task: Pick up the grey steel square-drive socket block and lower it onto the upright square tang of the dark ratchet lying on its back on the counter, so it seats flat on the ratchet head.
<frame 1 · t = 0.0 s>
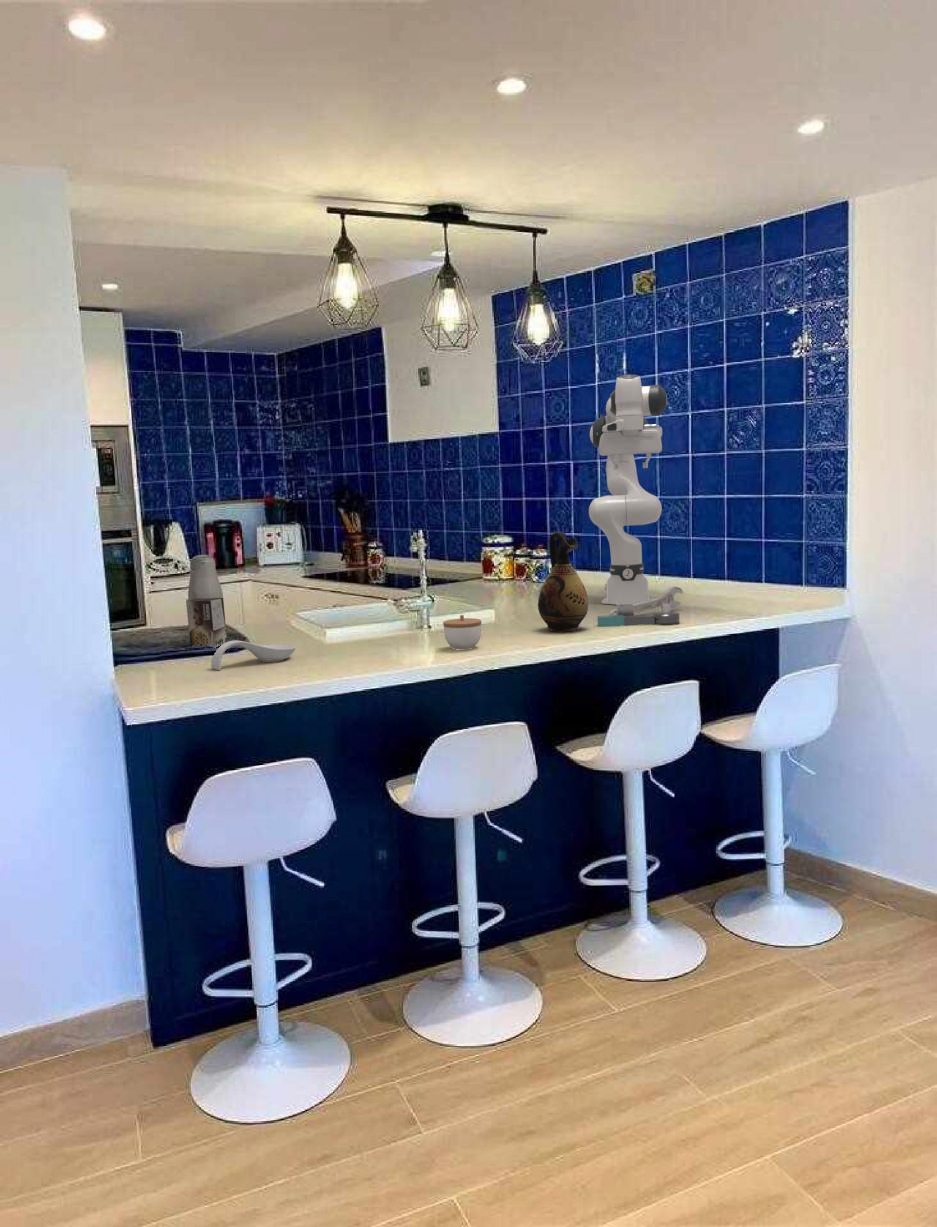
hand: (630, 468, 312), 48 cm above the countertop, tool pointing down, fingers open, 8 cm apart
coffee box: (209, 653, 284), on the countertop
grey tapered cylinder: (209, 644, 301), on the countertop
wrench: (646, 615, 318), on the countertop
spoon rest: (255, 664, 263), on the countertop
lidded jar: (463, 648, 270), on the countertop
ceramic jug: (562, 630, 295), on the countertop
ratchet: (666, 623, 297), on the countertop
socket: (625, 620, 306), on the countertop
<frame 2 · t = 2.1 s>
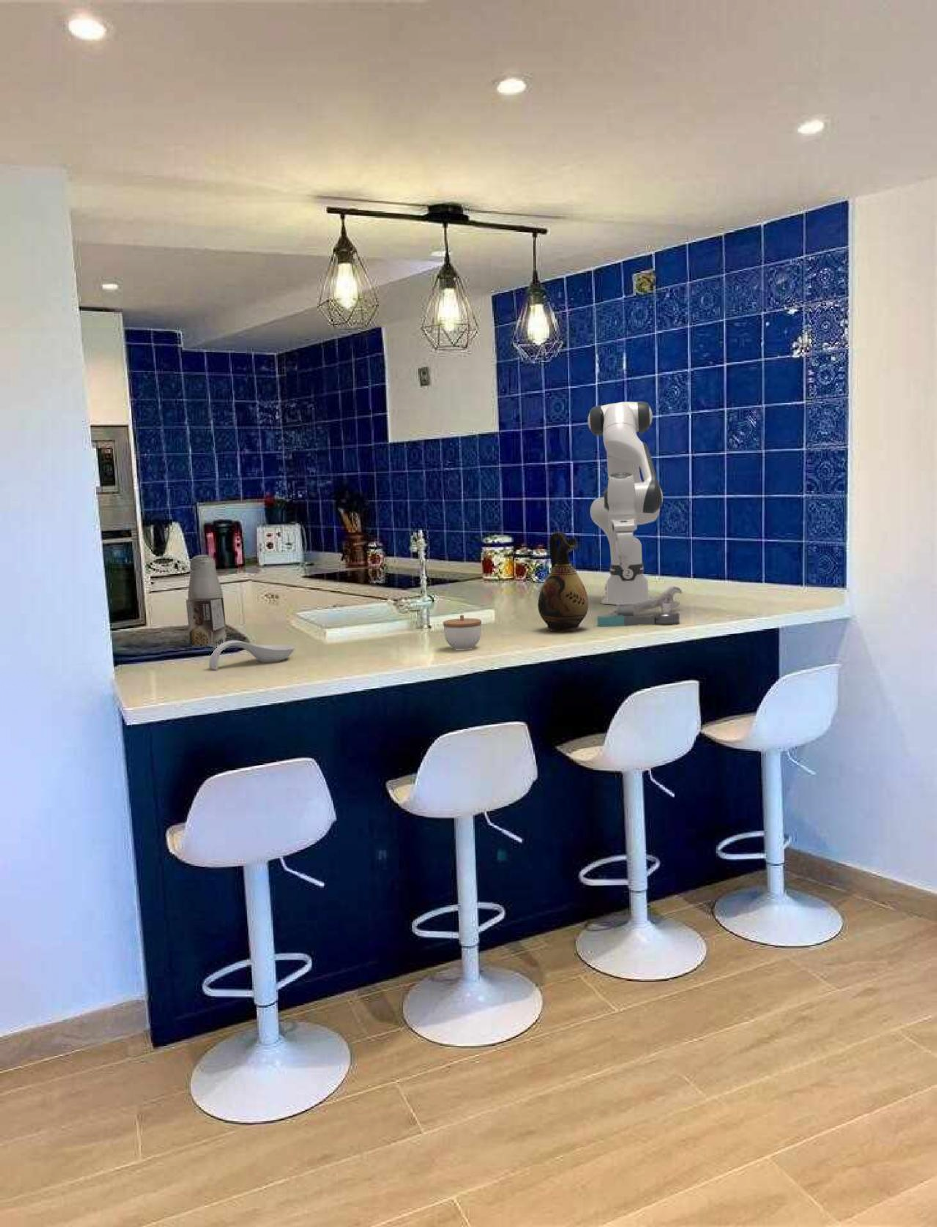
hand: (623, 568, 304), 17 cm above the countertop, tool pointing down, fingers open, 8 cm apart
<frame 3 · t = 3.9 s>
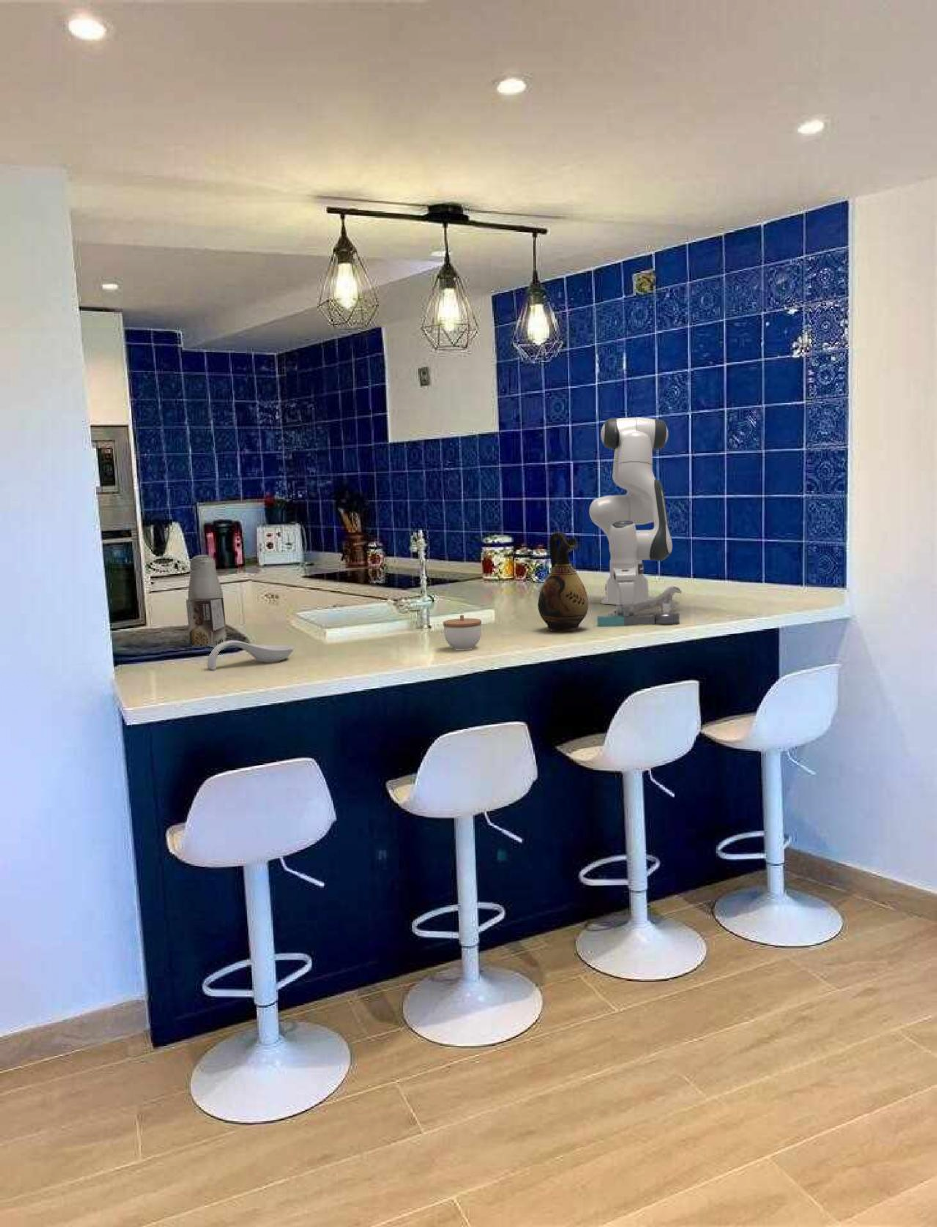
hand: (625, 615, 306), 2 cm above the countertop, tool pointing down, fingers closed on socket, 5 cm apart
socket: (625, 620, 306), on the countertop, touching gripper
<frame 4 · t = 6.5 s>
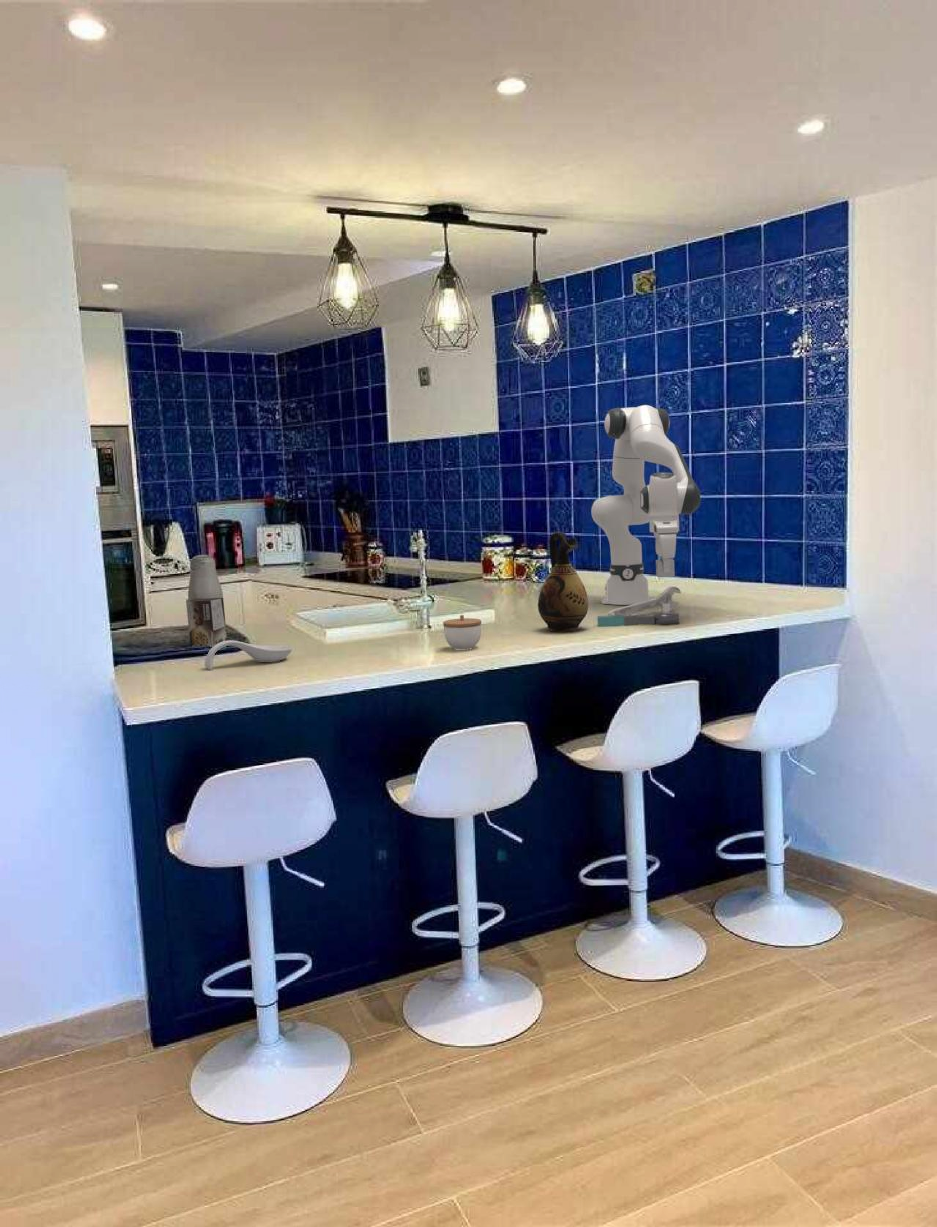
hand: (665, 571, 295), 16 cm above the countertop, tool pointing down, fingers closed on socket, 5 cm apart
socket: (665, 576, 295), point 15 cm above the countertop, touching gripper
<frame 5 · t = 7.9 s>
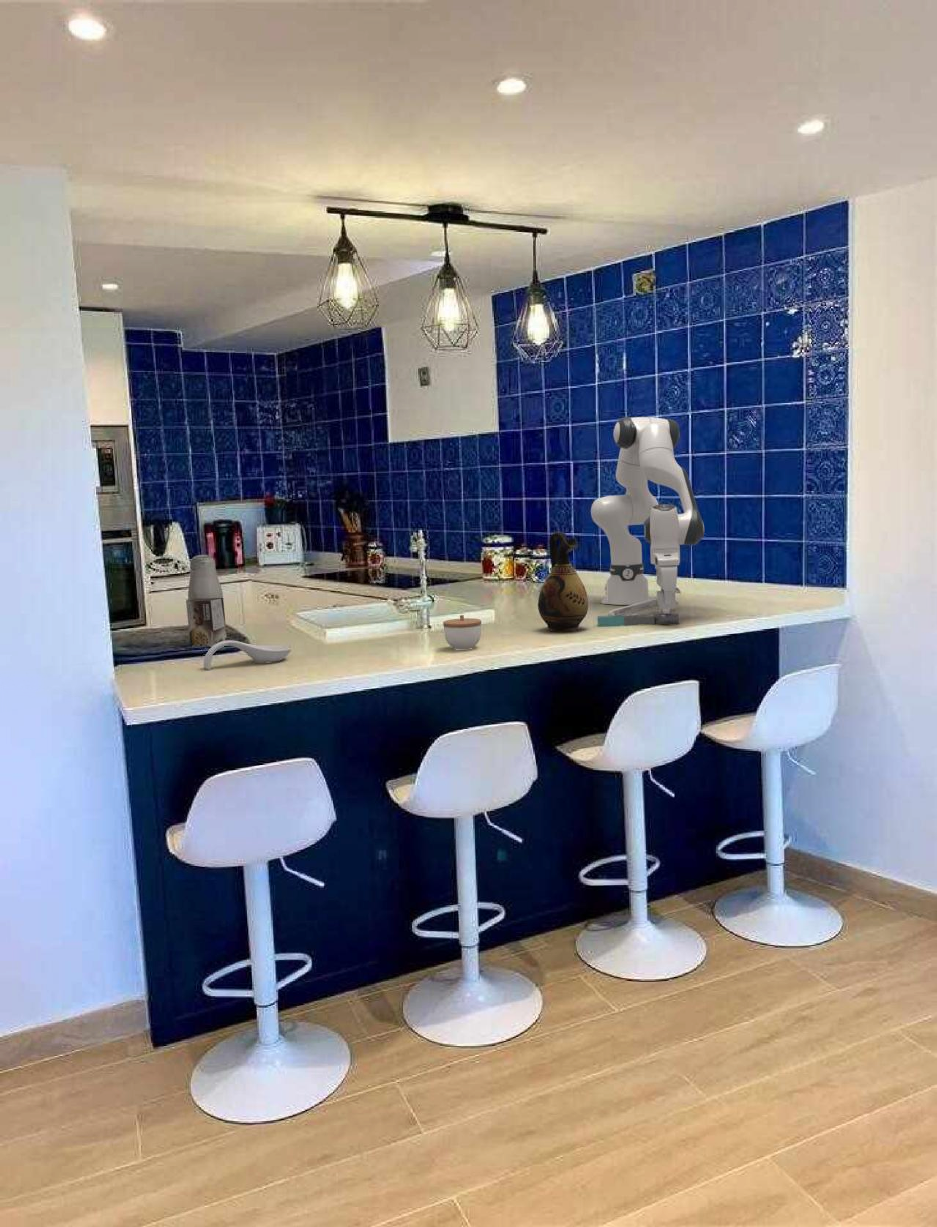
hand: (666, 602, 296), 6 cm above the countertop, tool pointing down, fingers closed on socket, 5 cm apart
socket: (666, 607, 296), point 5 cm above the countertop, touching gripper
when the fingers open (5 cm above the countertop, at t = 8.9 s): socket stays where it is, resting on ratchet.
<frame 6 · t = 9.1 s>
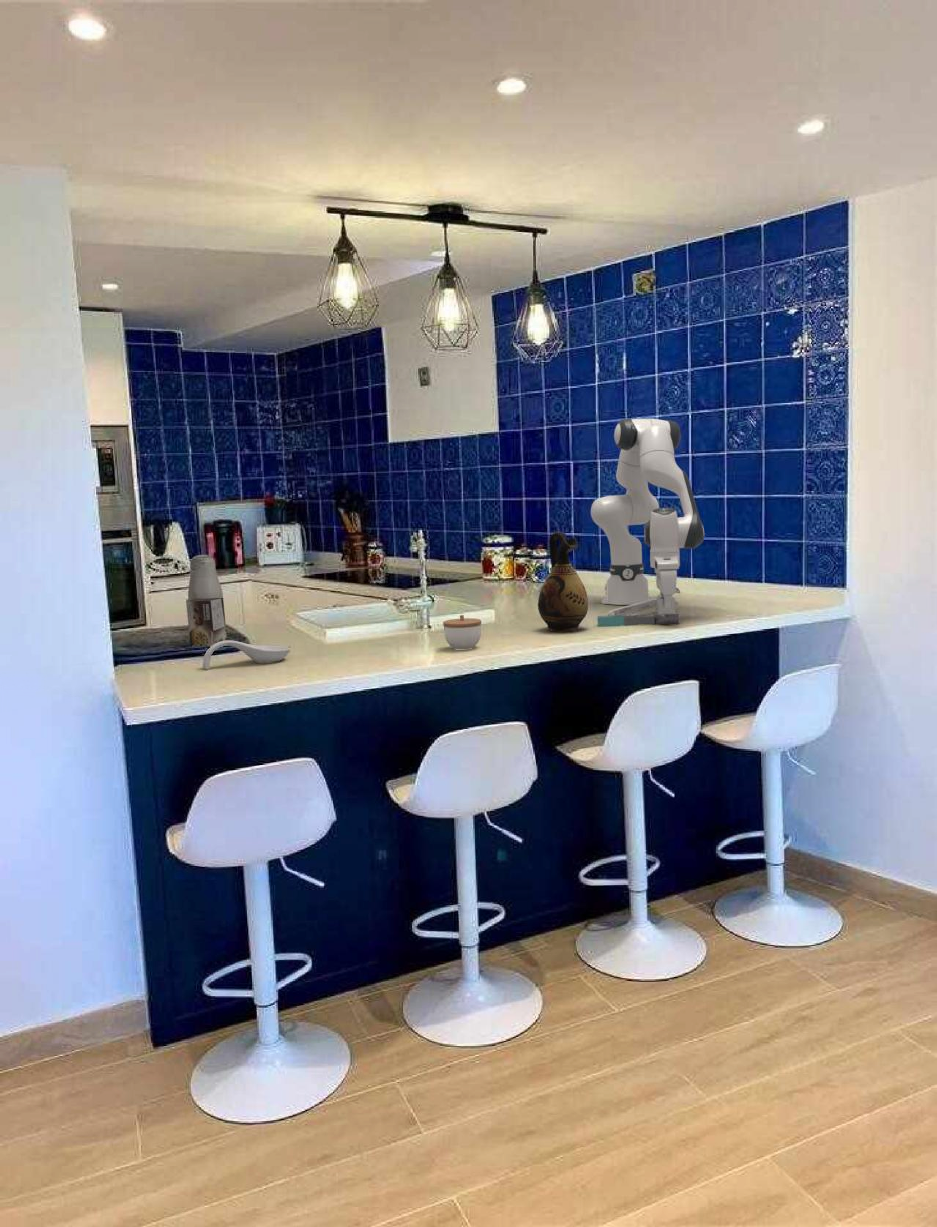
hand: (665, 606, 296), 5 cm above the countertop, tool pointing down, fingers open, 7 cm apart
socket: (665, 613, 297), point 3 cm above the countertop, touching ratchet
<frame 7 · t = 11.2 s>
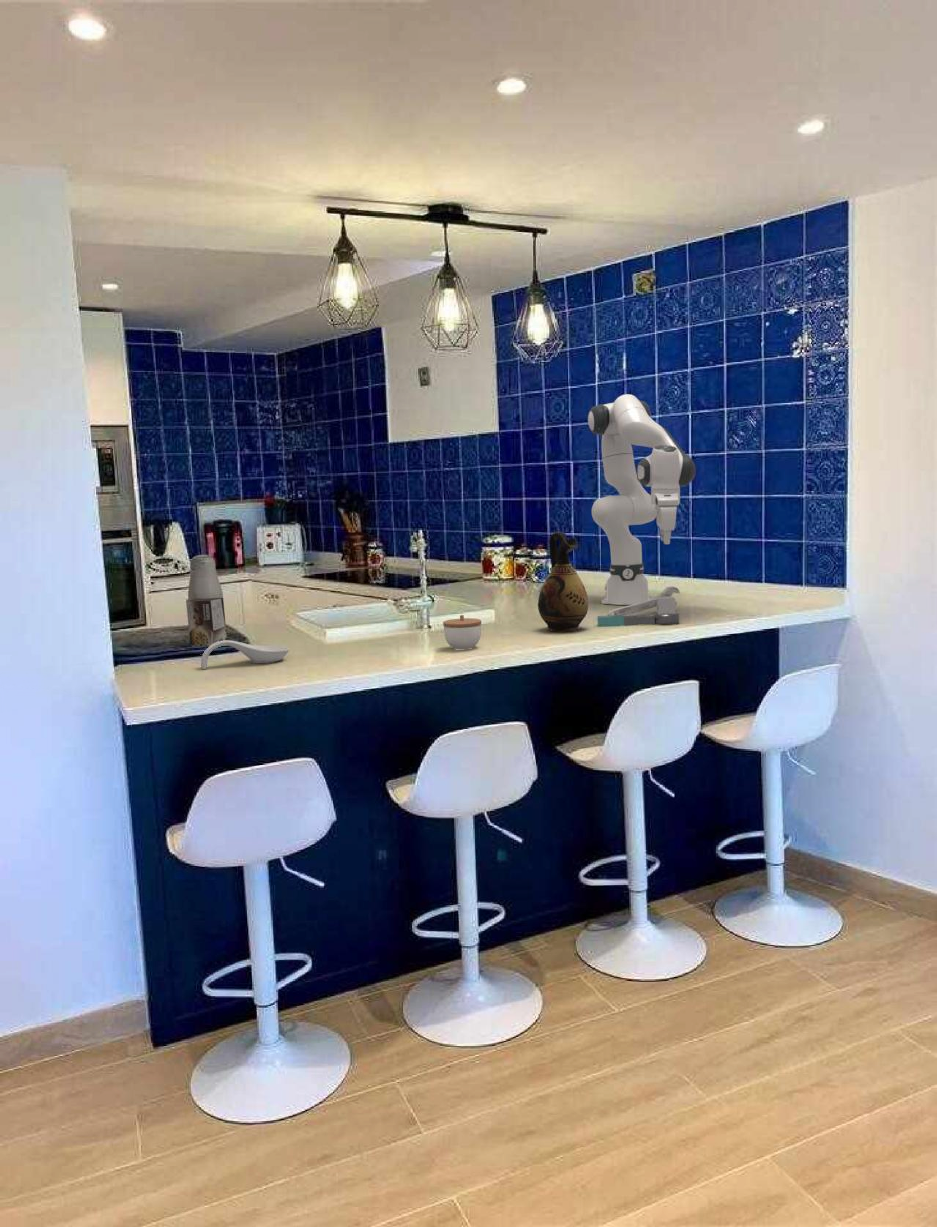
hand: (665, 542, 302), 24 cm above the countertop, tool pointing down, fingers open, 8 cm apart
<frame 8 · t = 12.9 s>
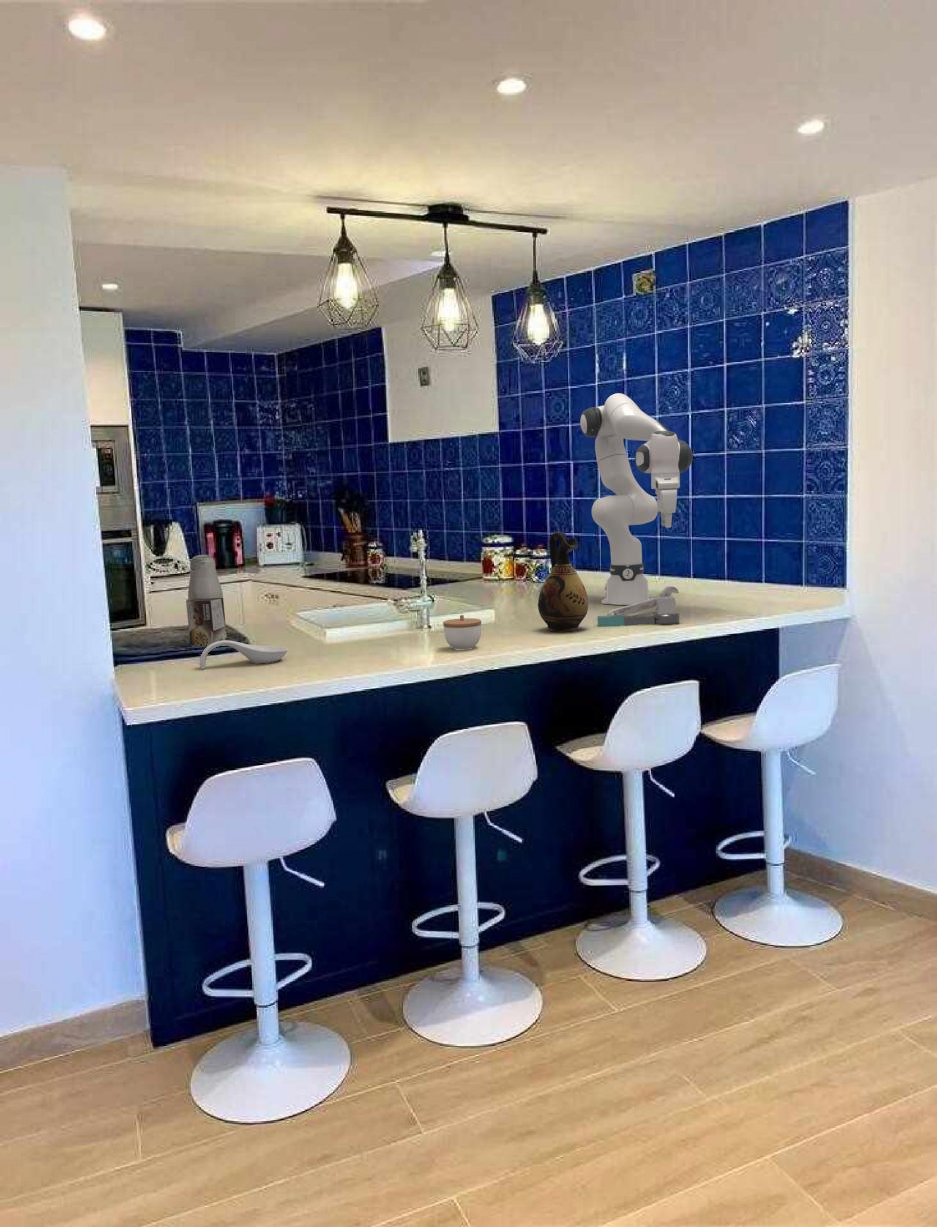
hand: (666, 526, 305), 29 cm above the countertop, tool pointing down, fingers open, 8 cm apart
at the end: socket 0.1 cm off-centre on the ratchet, point 3.0 cm above the ratchet's base; the gripper is holding nothing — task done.
